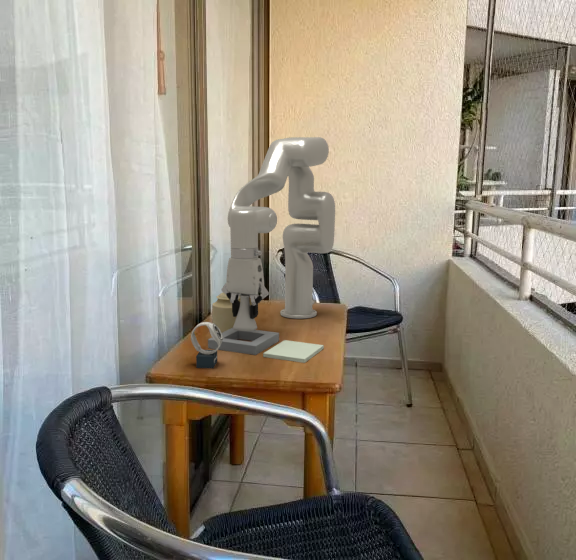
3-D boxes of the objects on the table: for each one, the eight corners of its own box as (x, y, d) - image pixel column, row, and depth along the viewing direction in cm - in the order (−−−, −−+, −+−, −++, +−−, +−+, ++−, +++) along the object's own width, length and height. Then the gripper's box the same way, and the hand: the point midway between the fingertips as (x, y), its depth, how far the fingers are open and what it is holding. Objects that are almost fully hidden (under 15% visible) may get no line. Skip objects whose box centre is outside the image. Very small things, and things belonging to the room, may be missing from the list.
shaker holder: (234, 335, 179) (234, 327, 179) (279, 341, 173) (279, 332, 173) (208, 348, 166) (207, 339, 165) (255, 355, 160) (255, 346, 159)
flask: (254, 332, 165) (254, 298, 163) (229, 331, 166) (228, 296, 164) (260, 325, 172) (260, 292, 170) (236, 324, 173) (236, 291, 171)
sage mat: (284, 343, 171) (284, 340, 171) (323, 348, 166) (323, 345, 166) (263, 356, 158) (263, 353, 158) (304, 362, 153) (304, 359, 153)
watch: (221, 368, 148) (220, 326, 146) (189, 367, 149) (188, 325, 147) (224, 361, 154) (224, 320, 152) (194, 360, 154) (193, 319, 152)
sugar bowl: (220, 322, 195) (219, 277, 192) (253, 323, 193) (253, 278, 191) (208, 334, 180) (207, 285, 178) (244, 335, 179) (243, 286, 176)
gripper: (277, 253, 165) (277, 316, 168) (224, 250, 172) (225, 310, 175) (265, 257, 158) (266, 323, 162) (211, 253, 165) (212, 316, 168)
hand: (245, 316), depth 168 cm, fingers closed on flask, 4 cm apart
